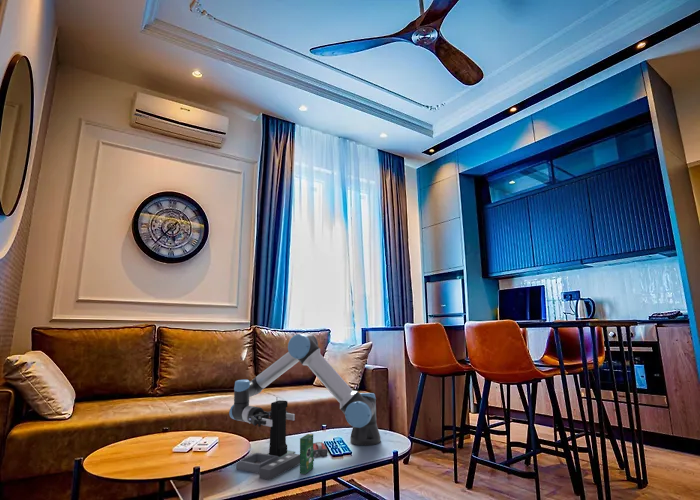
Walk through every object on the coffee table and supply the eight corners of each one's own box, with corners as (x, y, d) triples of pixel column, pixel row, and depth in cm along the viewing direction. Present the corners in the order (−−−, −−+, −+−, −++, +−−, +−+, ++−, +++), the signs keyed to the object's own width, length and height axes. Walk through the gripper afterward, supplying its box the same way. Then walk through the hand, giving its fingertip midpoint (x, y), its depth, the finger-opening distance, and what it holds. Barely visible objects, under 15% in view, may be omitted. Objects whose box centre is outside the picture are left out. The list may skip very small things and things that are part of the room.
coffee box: (307, 467, 160) (307, 433, 162) (314, 467, 159) (313, 433, 161) (299, 474, 152) (299, 438, 155) (305, 474, 151) (305, 438, 154)
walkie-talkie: (305, 450, 183) (310, 464, 164) (305, 440, 184) (310, 452, 165) (323, 448, 185) (330, 461, 166) (323, 438, 186) (330, 450, 167)
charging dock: (300, 463, 164) (300, 453, 165) (269, 480, 147) (269, 469, 147) (262, 457, 173) (262, 448, 174) (229, 472, 156) (229, 462, 157)
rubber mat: (295, 452, 178) (295, 451, 178) (278, 460, 168) (278, 459, 168) (278, 450, 183) (278, 449, 183) (261, 457, 172) (261, 456, 172)
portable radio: (277, 450, 180) (278, 394, 185) (288, 451, 178) (289, 394, 183) (267, 456, 173) (268, 397, 178) (279, 457, 171) (279, 397, 176)
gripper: (273, 418, 198) (302, 423, 185) (231, 428, 179) (261, 435, 166) (273, 402, 200) (302, 406, 187) (232, 411, 180) (261, 416, 168)
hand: (283, 420), depth 176 cm, fingers open, 13 cm apart
